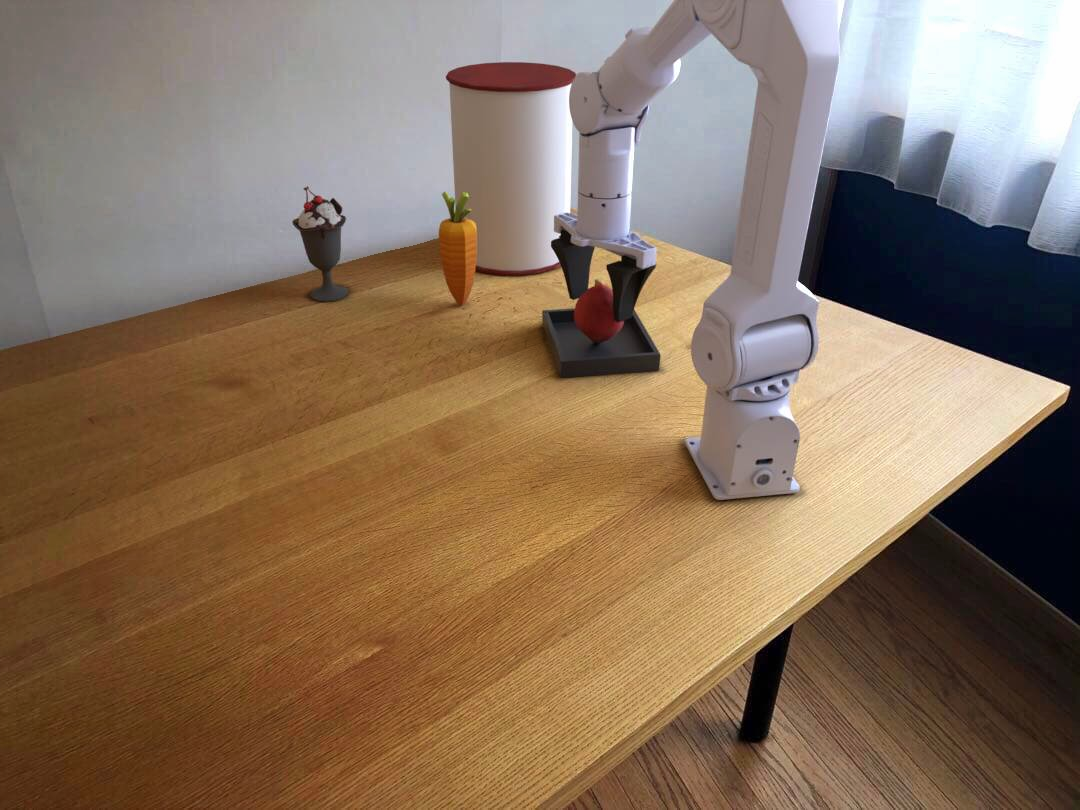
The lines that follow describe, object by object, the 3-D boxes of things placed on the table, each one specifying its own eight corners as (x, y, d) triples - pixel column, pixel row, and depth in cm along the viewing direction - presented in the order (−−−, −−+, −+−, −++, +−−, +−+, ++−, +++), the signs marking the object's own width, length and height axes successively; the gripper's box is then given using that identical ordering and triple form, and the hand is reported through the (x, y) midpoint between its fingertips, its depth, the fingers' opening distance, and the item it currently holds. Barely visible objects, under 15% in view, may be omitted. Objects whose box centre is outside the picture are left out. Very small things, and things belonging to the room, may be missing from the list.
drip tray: (659, 370, 96) (660, 354, 95) (560, 378, 95) (561, 361, 94) (630, 319, 107) (631, 304, 106) (542, 325, 106) (542, 310, 105)
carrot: (436, 301, 112) (429, 187, 104) (472, 294, 114) (467, 182, 106) (449, 316, 108) (443, 199, 100) (486, 309, 110) (482, 194, 102)
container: (581, 272, 120) (587, 85, 107) (458, 279, 118) (448, 89, 105) (562, 230, 135) (565, 60, 122) (451, 234, 133) (443, 63, 120)
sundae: (304, 307, 110) (287, 192, 102) (302, 286, 116) (285, 176, 108) (356, 301, 112) (343, 188, 104) (352, 281, 117) (339, 172, 109)
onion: (623, 333, 103) (627, 270, 99) (622, 355, 98) (626, 291, 94) (574, 330, 103) (576, 268, 99) (571, 353, 99) (573, 288, 94)
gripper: (532, 182, 94) (533, 296, 101) (624, 216, 84) (618, 340, 91) (581, 170, 98) (578, 281, 105) (674, 202, 88) (664, 322, 95)
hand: (599, 307), depth 98 cm, fingers open, 7 cm apart
